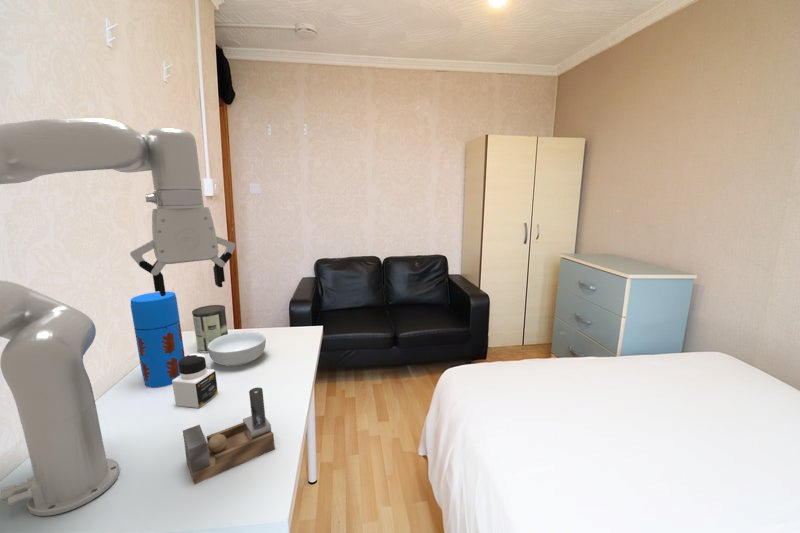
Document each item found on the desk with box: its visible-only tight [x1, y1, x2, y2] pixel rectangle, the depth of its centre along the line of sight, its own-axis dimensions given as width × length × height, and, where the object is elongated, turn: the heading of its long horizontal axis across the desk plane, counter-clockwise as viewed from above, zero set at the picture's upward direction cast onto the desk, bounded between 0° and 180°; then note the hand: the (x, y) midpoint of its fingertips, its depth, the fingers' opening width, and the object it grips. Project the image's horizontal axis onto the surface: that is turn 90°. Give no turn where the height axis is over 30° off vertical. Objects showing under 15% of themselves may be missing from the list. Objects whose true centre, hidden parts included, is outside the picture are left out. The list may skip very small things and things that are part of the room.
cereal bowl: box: [208, 331, 266, 367], centre depth 117 cm, size 17×17×7 cm
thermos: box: [130, 291, 185, 389], centre depth 105 cm, size 11×11×25 cm
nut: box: [208, 434, 227, 453], centre depth 73 cm, size 3×3×3 cm
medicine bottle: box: [171, 353, 219, 409], centre depth 94 cm, size 7×7×12 cm
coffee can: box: [191, 304, 229, 354], centre depth 128 cm, size 10×10×14 cm
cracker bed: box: [182, 422, 276, 485], centre depth 74 cm, size 15×8×7 cm, turn 128°
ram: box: [242, 387, 272, 440], centre depth 77 cm, size 4×6×10 cm
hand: (192, 290), depth 71 cm, fingers open, 9 cm apart
